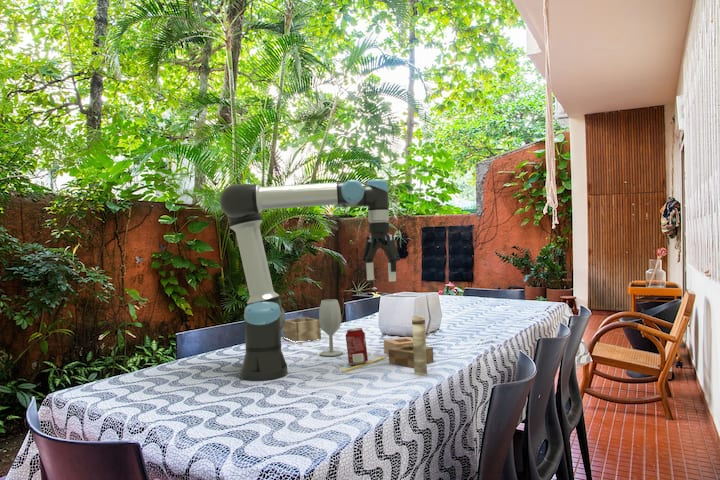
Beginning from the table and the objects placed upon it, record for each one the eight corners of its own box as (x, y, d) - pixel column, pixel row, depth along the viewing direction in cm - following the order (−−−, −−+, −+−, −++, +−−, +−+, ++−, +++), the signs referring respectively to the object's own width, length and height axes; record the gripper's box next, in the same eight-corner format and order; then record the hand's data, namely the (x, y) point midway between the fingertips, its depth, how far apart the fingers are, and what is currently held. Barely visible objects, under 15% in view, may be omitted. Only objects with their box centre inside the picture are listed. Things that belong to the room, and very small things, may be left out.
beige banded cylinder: (419, 375, 157) (417, 318, 157) (411, 373, 160) (409, 316, 161) (429, 373, 159) (427, 316, 159) (421, 371, 163) (419, 315, 163)
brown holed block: (414, 367, 168) (413, 352, 168) (389, 363, 175) (388, 349, 175) (433, 361, 176) (432, 347, 176) (408, 358, 183) (407, 344, 183)
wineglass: (332, 357, 188) (330, 301, 189) (315, 355, 194) (313, 301, 194) (347, 353, 195) (345, 299, 196) (330, 351, 201) (328, 298, 201)
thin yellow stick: (344, 372, 165) (344, 371, 165) (341, 372, 166) (341, 370, 166) (386, 358, 184) (386, 357, 184) (383, 358, 185) (383, 356, 185)
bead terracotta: (396, 358, 184) (396, 344, 184) (384, 352, 194) (383, 339, 194) (423, 354, 188) (422, 341, 188) (409, 349, 198) (409, 336, 198)
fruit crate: (295, 343, 221) (294, 323, 221) (283, 339, 233) (282, 320, 233) (321, 339, 228) (320, 320, 228) (307, 336, 239) (307, 317, 239)
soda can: (366, 364, 172) (362, 329, 173) (346, 366, 173) (343, 331, 174) (369, 361, 178) (365, 327, 179) (351, 362, 180) (347, 328, 181)
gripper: (408, 220, 175) (410, 281, 174) (368, 224, 195) (370, 279, 195) (391, 219, 170) (393, 282, 170) (351, 224, 191) (353, 280, 191)
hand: (381, 280), depth 182 cm, fingers open, 13 cm apart
